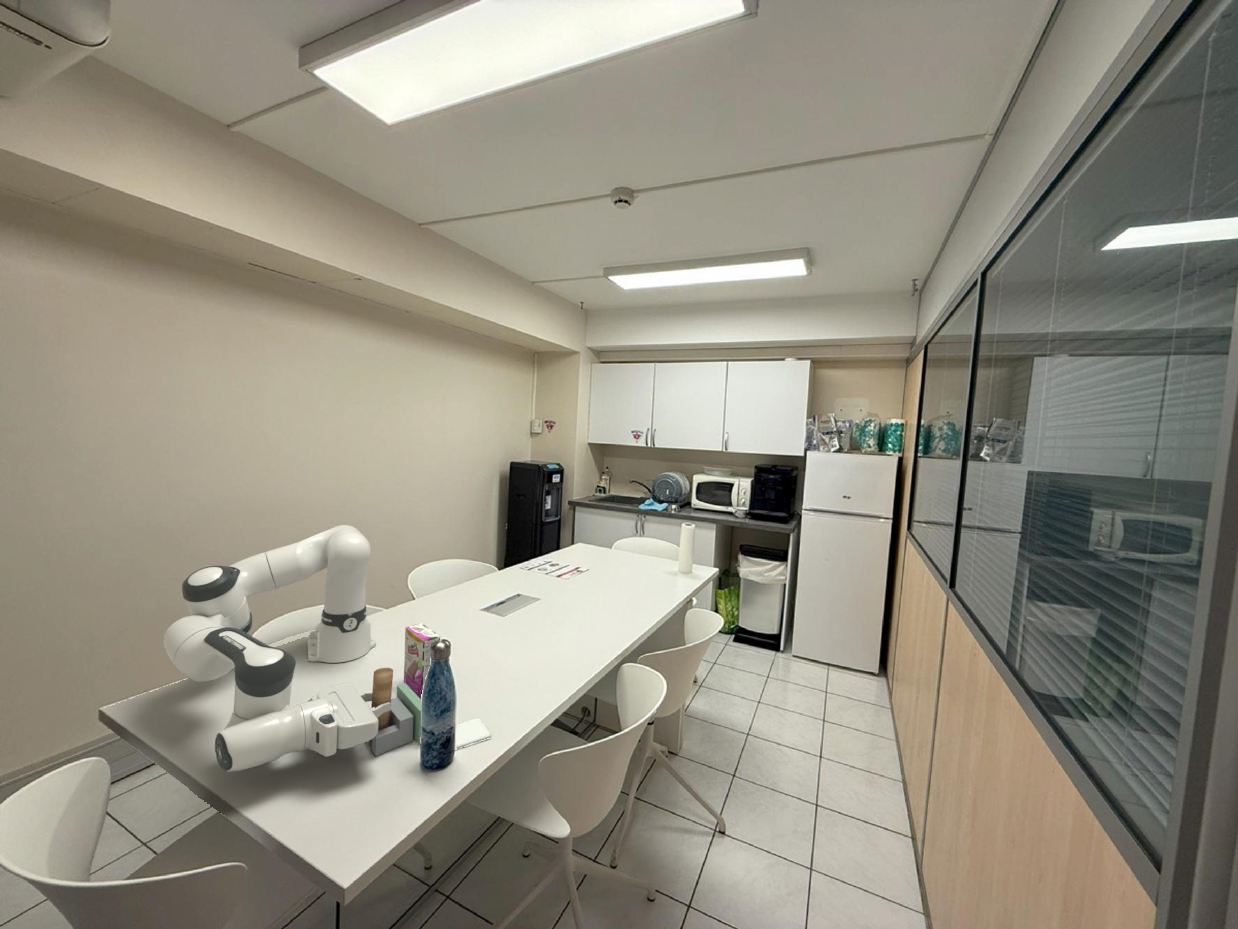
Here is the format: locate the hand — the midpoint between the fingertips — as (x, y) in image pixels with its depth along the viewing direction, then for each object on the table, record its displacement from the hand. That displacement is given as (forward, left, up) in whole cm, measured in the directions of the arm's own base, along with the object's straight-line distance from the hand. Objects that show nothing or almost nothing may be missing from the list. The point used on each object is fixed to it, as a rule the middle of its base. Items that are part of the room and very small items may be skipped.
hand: (385, 699), depth 112 cm
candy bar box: (-16, +15, -10) cm, 24 cm away
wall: (0, +6, -9) cm, 11 cm away
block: (0, +1, -9) cm, 9 cm away
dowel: (0, -1, -9) cm, 9 cm away
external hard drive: (+10, +13, -10) cm, 20 cm away
